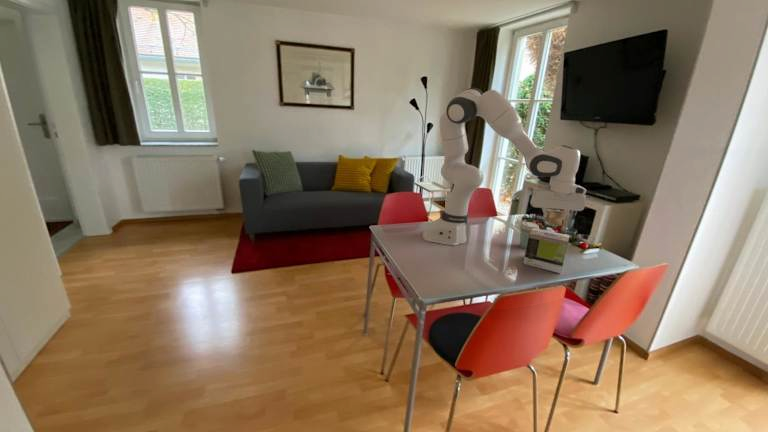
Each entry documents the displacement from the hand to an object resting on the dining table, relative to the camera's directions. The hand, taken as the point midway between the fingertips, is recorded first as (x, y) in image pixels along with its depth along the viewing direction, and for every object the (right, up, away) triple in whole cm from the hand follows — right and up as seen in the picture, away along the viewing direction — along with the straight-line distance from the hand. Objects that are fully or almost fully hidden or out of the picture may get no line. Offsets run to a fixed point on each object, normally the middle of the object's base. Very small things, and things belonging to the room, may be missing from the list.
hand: (553, 218), depth 134 cm
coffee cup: (-1, -14, +25) cm, 29 cm away
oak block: (0, -2, +1) cm, 2 cm away
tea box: (-1, -21, +7) cm, 22 cm away
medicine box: (+11, -15, +25) cm, 31 cm away
